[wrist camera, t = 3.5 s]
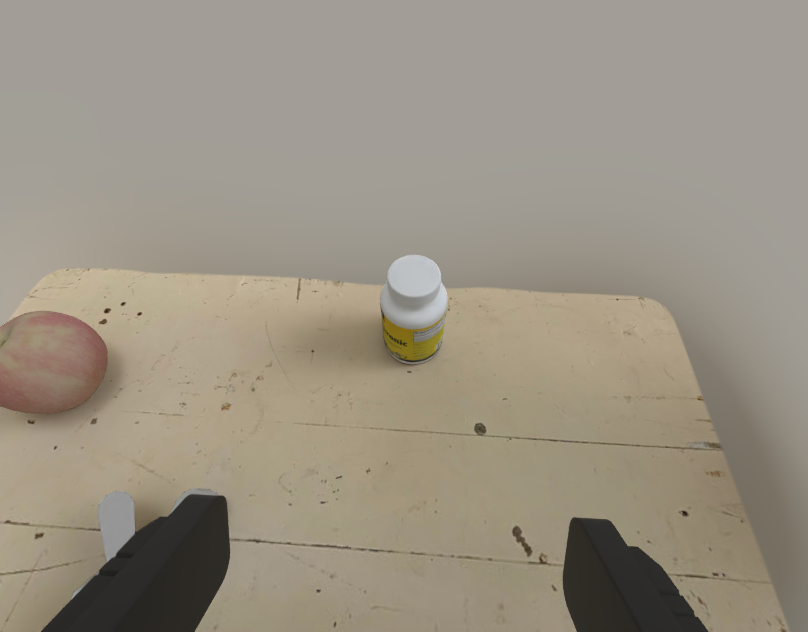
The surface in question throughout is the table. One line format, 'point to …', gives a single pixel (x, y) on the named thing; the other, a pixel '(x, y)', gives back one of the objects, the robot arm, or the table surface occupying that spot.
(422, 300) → the supplement bottle
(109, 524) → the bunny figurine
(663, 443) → the table surface
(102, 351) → the apple
